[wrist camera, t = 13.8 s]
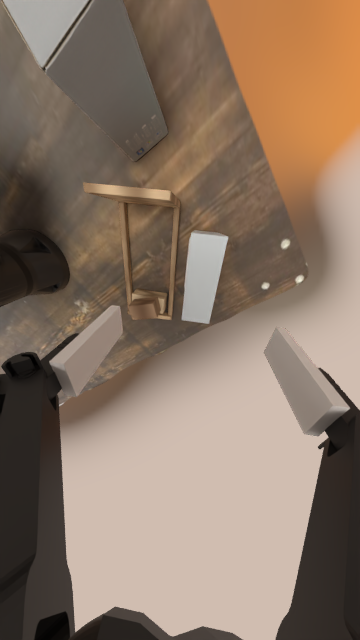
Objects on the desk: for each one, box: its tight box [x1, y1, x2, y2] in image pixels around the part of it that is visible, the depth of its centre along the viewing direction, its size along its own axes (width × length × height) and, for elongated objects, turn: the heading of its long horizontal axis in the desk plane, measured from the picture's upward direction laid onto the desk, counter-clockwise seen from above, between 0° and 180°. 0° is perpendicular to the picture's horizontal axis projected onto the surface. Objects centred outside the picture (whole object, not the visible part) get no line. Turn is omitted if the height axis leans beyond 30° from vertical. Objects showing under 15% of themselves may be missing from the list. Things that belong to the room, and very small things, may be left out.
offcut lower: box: [132, 288, 167, 314], centre depth 41 cm, size 8×4×4 cm, turn 82°
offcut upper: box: [128, 297, 161, 320], centre depth 38 cm, size 6×4×4 cm, turn 99°
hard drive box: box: [1, 0, 168, 162], centre depth 16 cm, size 16×8×20 cm, turn 27°
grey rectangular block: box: [182, 230, 228, 324], centre depth 31 cm, size 5×14×13 cm, turn 174°
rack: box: [83, 183, 181, 320], centre depth 33 cm, size 12×26×12 cm, turn 175°
